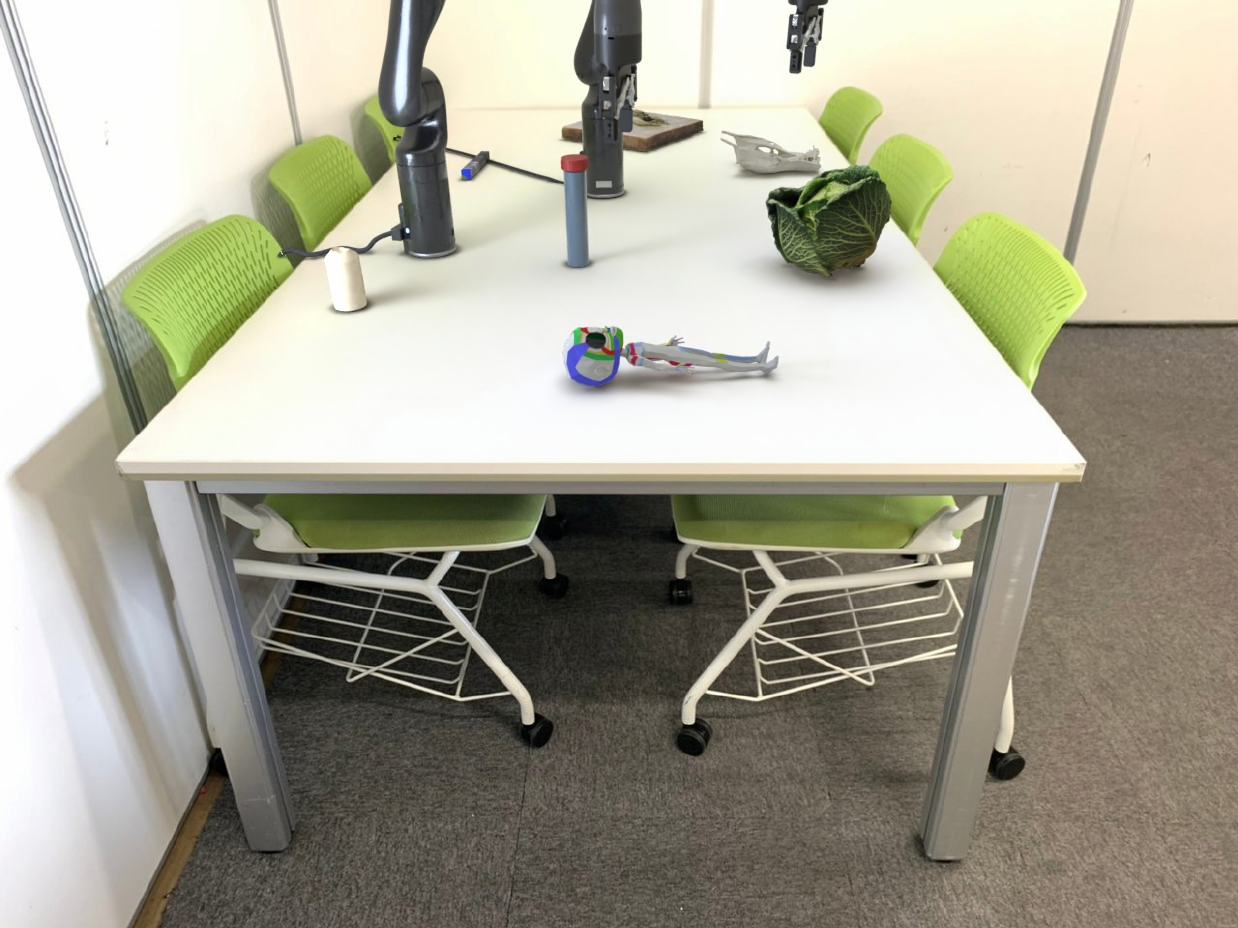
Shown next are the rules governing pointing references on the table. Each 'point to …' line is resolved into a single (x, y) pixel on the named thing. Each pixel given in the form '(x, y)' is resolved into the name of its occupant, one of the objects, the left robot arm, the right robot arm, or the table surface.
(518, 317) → the table surface
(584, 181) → the blue cylindrical tube
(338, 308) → the candle
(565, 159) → the lid
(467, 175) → the pillar
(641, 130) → the plaque
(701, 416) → the table surface
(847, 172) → the vegetable
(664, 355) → the toy
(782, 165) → the anatomical model
